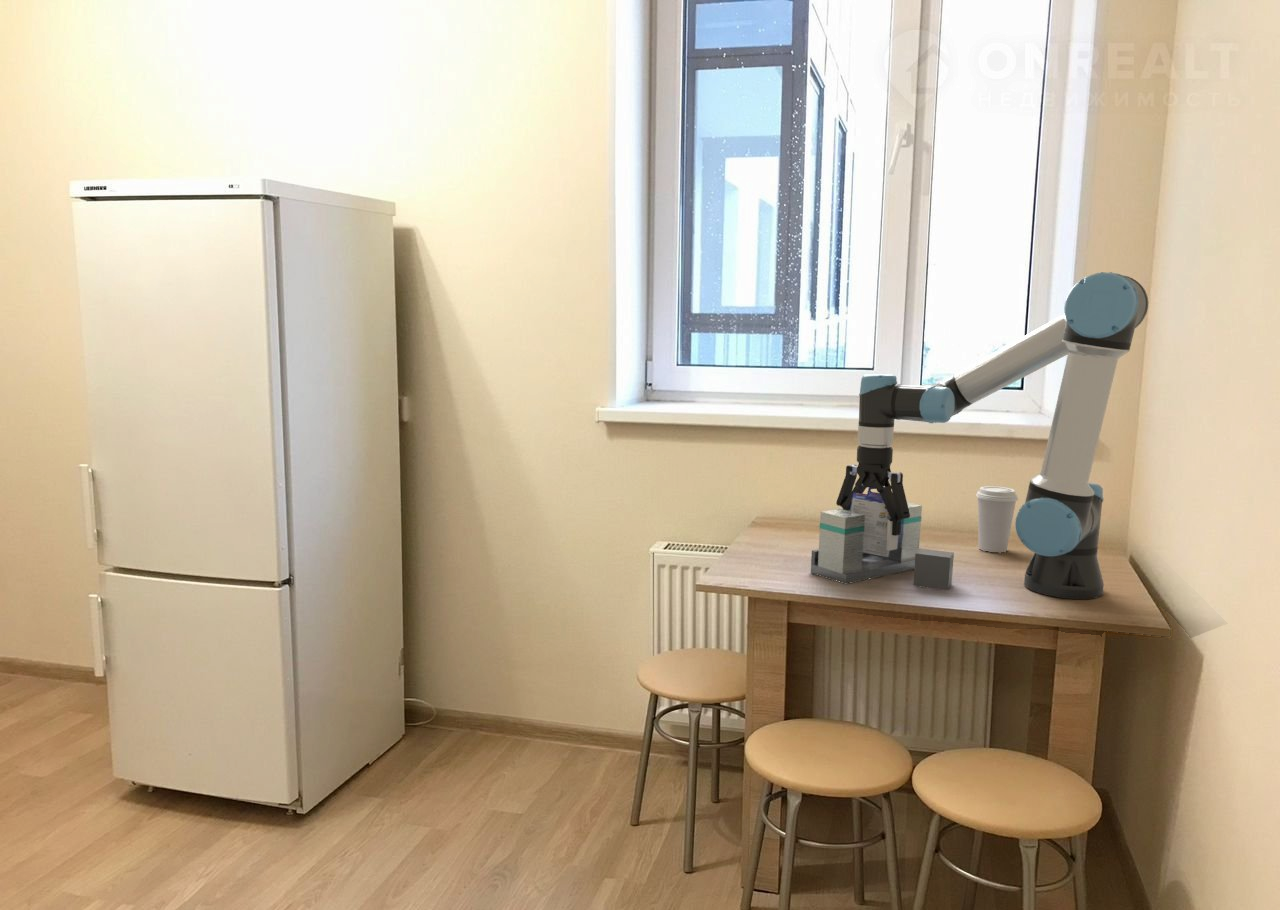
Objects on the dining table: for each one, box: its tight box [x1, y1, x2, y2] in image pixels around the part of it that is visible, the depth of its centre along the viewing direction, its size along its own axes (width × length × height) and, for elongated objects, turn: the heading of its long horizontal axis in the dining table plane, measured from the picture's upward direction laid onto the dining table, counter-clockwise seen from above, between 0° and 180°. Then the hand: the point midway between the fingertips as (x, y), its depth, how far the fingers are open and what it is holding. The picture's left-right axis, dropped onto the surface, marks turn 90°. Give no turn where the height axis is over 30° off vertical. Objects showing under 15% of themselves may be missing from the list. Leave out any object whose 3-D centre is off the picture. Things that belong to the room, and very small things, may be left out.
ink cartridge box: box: [850, 487, 891, 557], centre depth 208 cm, size 10×6×14 cm, turn 77°
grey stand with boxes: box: [810, 501, 923, 584], centre depth 209 cm, size 10×25×14 cm, turn 126°
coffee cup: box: [975, 485, 1019, 553], centre depth 230 cm, size 10×10×15 cm
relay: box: [912, 547, 955, 591], centre depth 199 cm, size 5×7×7 cm
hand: (870, 544), depth 209 cm, fingers closed on ink cartridge box, 11 cm apart
